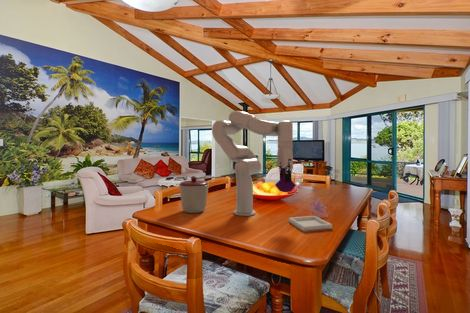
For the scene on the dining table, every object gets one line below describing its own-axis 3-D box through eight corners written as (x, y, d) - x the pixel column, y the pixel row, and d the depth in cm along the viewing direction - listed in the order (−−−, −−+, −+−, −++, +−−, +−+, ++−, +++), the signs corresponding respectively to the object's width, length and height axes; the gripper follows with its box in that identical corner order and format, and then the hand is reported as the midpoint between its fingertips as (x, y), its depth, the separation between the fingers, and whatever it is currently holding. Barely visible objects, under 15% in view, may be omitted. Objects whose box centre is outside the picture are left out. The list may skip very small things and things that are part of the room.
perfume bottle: (284, 193, 126) (284, 156, 125) (275, 191, 132) (274, 156, 132) (296, 191, 129) (295, 156, 129) (286, 189, 136) (286, 155, 135)
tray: (288, 222, 133) (288, 217, 133) (314, 219, 137) (314, 215, 137) (303, 231, 119) (304, 226, 118) (331, 229, 122) (332, 224, 122)
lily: (304, 219, 142) (312, 206, 137) (302, 206, 152) (309, 193, 148) (325, 226, 142) (333, 213, 137) (321, 212, 152) (329, 200, 148)
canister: (172, 213, 147) (172, 177, 146) (187, 206, 165) (187, 173, 164) (201, 216, 142) (201, 179, 141) (213, 208, 159) (213, 175, 158)
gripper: (271, 145, 137) (272, 179, 138) (285, 145, 121) (286, 183, 121) (284, 145, 139) (284, 178, 140) (300, 145, 123) (300, 182, 123)
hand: (285, 180), depth 131 cm, fingers closed on perfume bottle, 5 cm apart
